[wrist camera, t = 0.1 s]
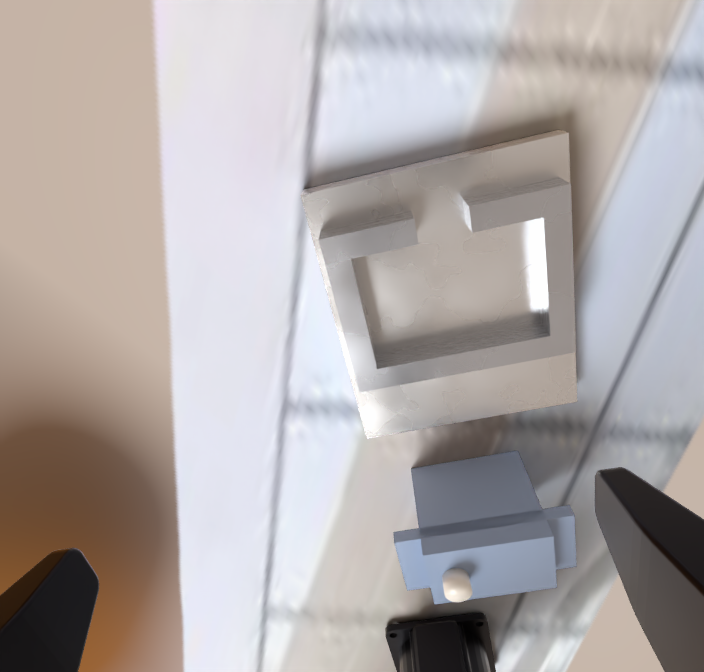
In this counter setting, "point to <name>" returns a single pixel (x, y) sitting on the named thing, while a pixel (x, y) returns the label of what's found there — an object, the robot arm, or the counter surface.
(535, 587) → the block
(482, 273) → the mount plate
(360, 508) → the counter surface
